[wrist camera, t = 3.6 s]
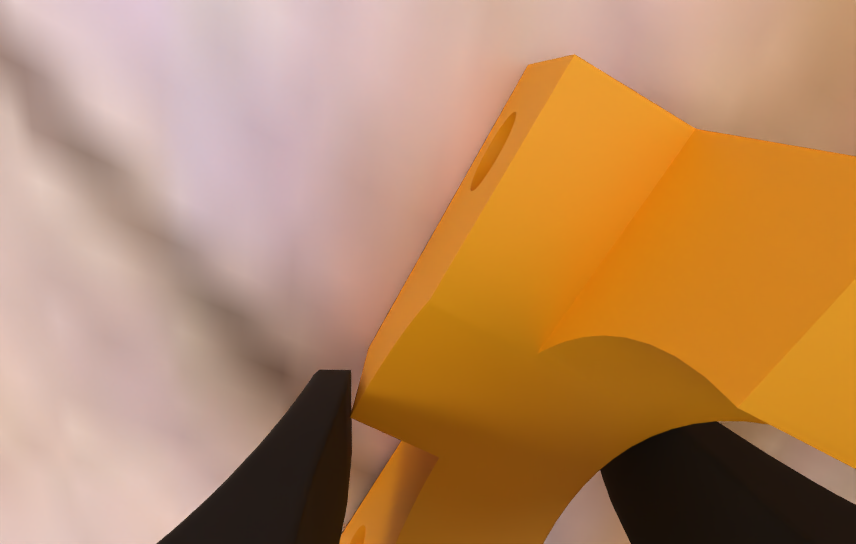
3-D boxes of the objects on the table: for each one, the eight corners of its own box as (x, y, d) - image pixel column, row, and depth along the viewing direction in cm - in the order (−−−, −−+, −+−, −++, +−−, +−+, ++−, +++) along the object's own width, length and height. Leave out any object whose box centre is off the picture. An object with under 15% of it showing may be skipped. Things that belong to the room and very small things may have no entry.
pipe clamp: (528, 65, 9) (724, 21, 3) (722, 182, 9) (1226, 355, 3) (273, 517, 13) (120, 913, 7) (424, 578, 13) (412, 991, 7)
